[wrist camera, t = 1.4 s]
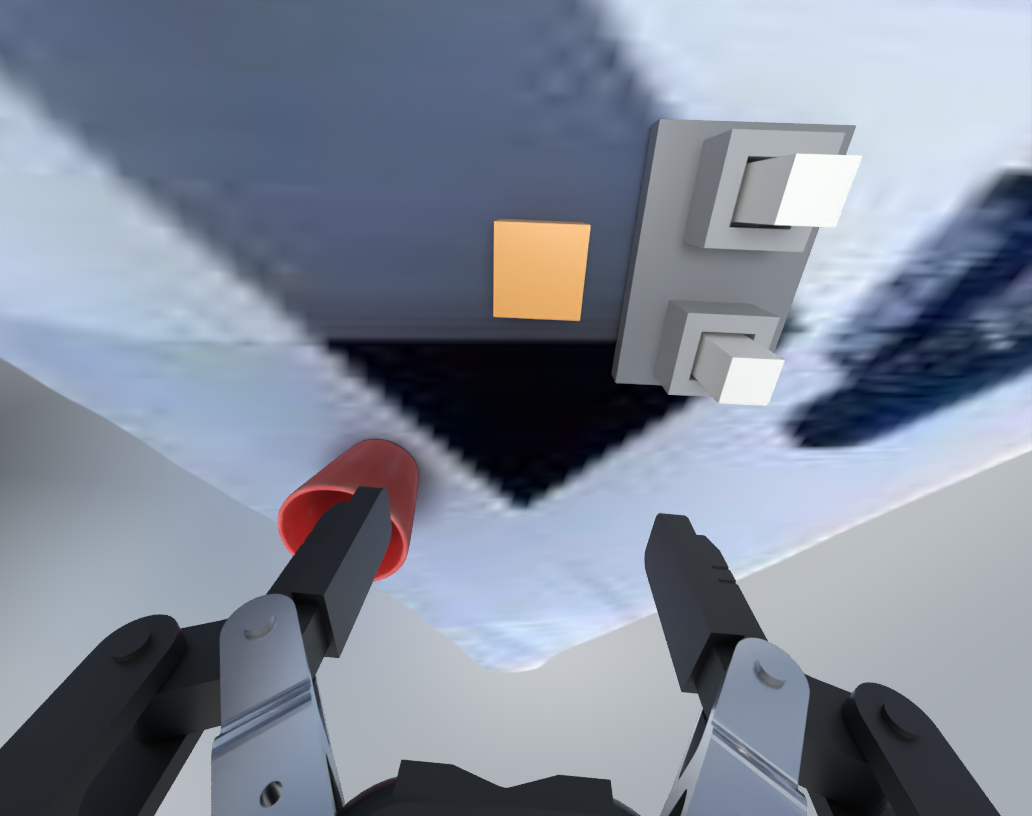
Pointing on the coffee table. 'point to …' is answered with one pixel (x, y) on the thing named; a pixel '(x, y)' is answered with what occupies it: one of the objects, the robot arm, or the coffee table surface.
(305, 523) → the flower pot
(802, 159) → the block
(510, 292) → the orange wooden cube
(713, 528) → the coffee table surface
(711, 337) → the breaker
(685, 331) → the breaker panel
